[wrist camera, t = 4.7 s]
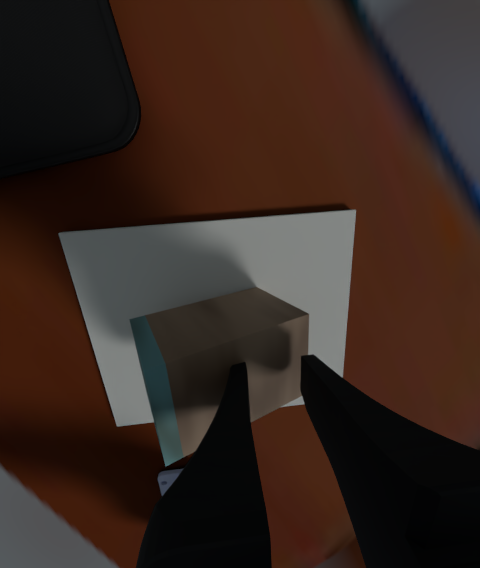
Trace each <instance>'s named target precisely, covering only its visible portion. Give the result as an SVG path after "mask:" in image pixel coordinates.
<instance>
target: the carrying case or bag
mask: <svg viewBox="0 0 480 568" xmlns="http://www.w3.org/2000/svg"><path fill="white" fill-rule="evenodd" d="M140 120H141V106H140V101H139V98H138V95H137V91H136V88H135V85H134V82H133V78H132V75H131V72H130V68H129V65H128V62H127V59H126V55H125V52H124V49H123V45H122V42H121V39H120V36H119V32H118V29H117V26H116V22H115V19H114V16H113V13H112V9H111V6H110V3H109V0H0V179H2V178H7V177H11V176H15V175H19V174H23V173H28V172H32V171H36V170H40V169H45V168H49V167H53V166H57V165H62V164H66V163H70V162H74V161H79V160H83V159H87V158H91V157H96V156H100V155H104V154H107V153H111V152H115V151H118V150H120V149H122V148H125V147H126V146H127V145H128V144H129V143H130V142H131V141H132V140H133V139H134V137H135V135H136V134H137V131H138V129H139V125H140Z"/></svg>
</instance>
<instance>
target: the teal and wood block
mask: <svg viewBox="0 0 480 568" xmlns="http://www.w3.org/2000/svg"><path fill="white" fill-rule="evenodd" d="M129 320H130V324H131V328H132V333H133V337H134V341H135V346H136V350H137V354H138V358H139V363H140V367H141V371H142V375H143V380H144V384H145V388H146V393H147V397H148V400H149V404H150V408H151V412H152V416H153V420H154V424H155V427H156V431H157V435H158V439H159V443H160V447H161V451H162V454H163V458H164V462H165V466H168V465H170V464H172V463H174V462H176V461H177V460H179V459H181V458H183V457H185V456H187V455H189V454H191V453H193V452H195V451H196V449H197V448H198V446H199V444H200V443H201V441H202V439H203V437H204V436H205V434H206V432H207V430H208V428H209V426H210V425H211V423H212V421H213V418H214V416H215V414H216V412H217V409H218V407H219V405H220V402H221V400H222V397H223V394H224V391H225V388H226V385H227V381H228V378H229V373H230V368H231V366H232V365H235V364H239V363H242V362H246V367H247V373H248V387H249V402H250V417H251V422H253V421H255V420H256V419H258V418H260V417H262V416H264V415H266V414H268V413H270V412H272V411H274V410H276V409H278V408H280V407H282V406H283V405H285V404H287V403H289V402H291V401H293V400H295V399H297V398H299V397H301V396H302V394H301V391H300V380H301V356H303V355H308V340H309V314H308V313H307V312H305V311H303V310H301V309H299V308H297V307H295V306H293V305H291V304H289V303H287V302H285V301H283V300H281V299H279V298H277V297H275V296H273V295H271V294H269V293H267V292H266V291H264V290H262V289H260V288H258V287H254V288H251V289H247V290H243V291H239V292H235V293H231V294H227V295H223V296H219V297H215V298H211V299H207V300H203V301H199V302H195V303H192V304H188V305H184V306H180V307H176V308H172V309H168V310H164V311H160V312H156V313H152V314H148V315H144V316H140V317H136V318H132V319H129Z"/></svg>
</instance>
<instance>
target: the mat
mask: <svg viewBox="0 0 480 568" xmlns="http://www.w3.org/2000/svg"><path fill="white" fill-rule="evenodd" d="M355 217H356V210H339V211H326V212H313V213H300V214H287V215H274V216H262V217H249V218H236V219H223V220H210V221H197V222H184V223H171V224H158V225H146V226H133V227H120V228H107V229H94V230H81V231H68V232H61V233H58V234H59V237H60V241H61V244H62V247H63V250H64V254H65V257H66V260H67V264H68V267H69V270H70V274H71V277H72V280H73V283H74V287H75V290H76V293H77V297H78V300H79V303H80V306H81V310H82V313H83V316H84V320H85V323H86V326H87V330H88V333H89V336H90V339H91V343H92V346H93V349H94V353H95V356H96V359H97V362H98V366H99V369H100V372H101V376H102V379H103V382H104V386H105V389H106V392H107V395H108V399H109V402H110V405H111V409H112V412H113V415H114V418H115V422H116V425H117V426H126V425H134V424H142V423H151V422H154V420H153V416H152V412H151V408H150V404H149V400H148V397H147V393H146V388H145V384H144V380H143V375H142V371H141V367H140V363H139V358H138V354H137V350H136V346H135V341H134V337H133V333H132V328H131V324H130V320H129V319H132V318H136V317H140V316H144V315H148V314H152V313H156V312H160V311H164V310H168V309H172V308H176V307H180V306H184V305H188V304H192V303H195V302H199V301H203V300H207V299H211V298H215V297H219V296H223V295H227V294H231V293H235V292H239V291H243V290H247V289H251V288H254V287H258V288H260V289H262V290H264V291H266V292H267V293H269V294H271V295H273V296H275V297H277V298H279V299H281V300H283V301H285V302H287V303H289V304H291V305H293V306H295V307H297V308H299V309H301V310H303V311H305V312H307V313H308V314H309V340H308V355H312V354H314V355H315V356H316V357H317V358H319V359H320V360H321V361H322V362H324V363H325V364H326V365H327V366H328V367H330V368H331V369H332V370H333V371H335V372H336V373H337V374H338V375H340V376H341V377H342V378H343V366H344V354H345V341H346V329H347V316H348V304H349V291H350V279H351V266H352V254H353V242H354V229H355ZM301 404H304V400H303V397H302V396H301V397H299V398H297V399H295V400H293V401H291V402H289V403H287V404H285V405H283V406H282V407H284V406H293V405H301Z"/></svg>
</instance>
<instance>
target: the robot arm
mask: <svg viewBox="0 0 480 568" xmlns="http://www.w3.org/2000/svg"><path fill="white" fill-rule="evenodd" d="M300 391H301V394H302V397H303V400H304V404H305V407H306V410H307V412H308V414H309V417H310V419H311V421H312V423H313V426H314V428H315V430H316V432H317V434H318V437H319V439H320V441H321V443H322V445H323V447H324V450H325V452H326V454H327V456H328V458H329V461H330V463H331V466H332V468H333V470H334V473H335V476H336V479H337V481H338V484H339V487H340V490H341V493H342V496H343V498H344V501H345V504H346V507H347V510H348V513H349V516H350V519H351V522H352V525H353V528H354V531H355V534H356V537H357V540H358V543H359V546H360V549H361V553H362V556H363V559H364V562H365V565H366V568H480V451H479V450H476V449H474V448H471V447H468V446H466V445H463V444H460V443H458V442H456V441H453V440H451V439H449V438H446V437H444V436H442V435H439V434H437V433H435V432H433V431H431V430H428V429H426V428H424V427H422V426H420V425H418V424H416V423H414V422H412V421H410V420H408V419H406V418H404V417H402V416H401V415H399V414H397V413H395V412H393V411H392V410H390V409H388V408H386V407H385V406H383V405H381V404H380V403H378V402H376V401H375V400H373V399H372V398H370V397H369V396H367V395H366V394H364V393H363V392H361V391H360V390H358V389H357V388H356V387H354V386H353V385H351V384H350V383H349V382H347V381H346V380H345V379H343V378H342V377H341V376H340V375H338V374H337V373H336V372H335V371H333V370H332V369H331V368H330V367H328V366H327V365H326V364H325V363H324V362H322V361H321V360H320V359H319V358H317V357H316V356H315V355H314V354H312V355H303V356H301V380H300ZM158 483H159V487H160V491H161V495H162V497H161V498H160V500H159V501H158V502H157V503H156V505H155V507H154V509H153V512H152V514H151V517H150V520H149V522H148V525H147V528H146V531H145V534H144V537H143V540H142V544H141V547H140V551H139V556H138V561H137V565H136V568H272V566H271V543H270V533H269V526H268V520H267V513H266V507H265V502H264V497H263V492H262V486H261V481H260V476H259V470H258V464H257V459H256V453H255V447H254V441H253V435H252V429H251V417H250V402H249V387H248V373H247V367H246V362H242V363H239V364H235V365H232V366H231V368H230V373H229V378H228V381H227V385H226V388H225V391H224V394H223V397H222V400H221V402H220V405H219V407H218V409H217V412H216V414H215V416H214V418H213V421H212V423H211V425H210V426H209V428H208V430H207V432H206V434H205V436H204V437H203V439H202V441H201V443H200V444H199V446H198V448H197V449H196V451H195V452H194V454H193V456H192V457H191V458H190V460H189V461H188V463H187V464H186V466H185V467H184V468H183V469H175V470H168V471H162V472H160V473H159V474H158Z"/></svg>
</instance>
